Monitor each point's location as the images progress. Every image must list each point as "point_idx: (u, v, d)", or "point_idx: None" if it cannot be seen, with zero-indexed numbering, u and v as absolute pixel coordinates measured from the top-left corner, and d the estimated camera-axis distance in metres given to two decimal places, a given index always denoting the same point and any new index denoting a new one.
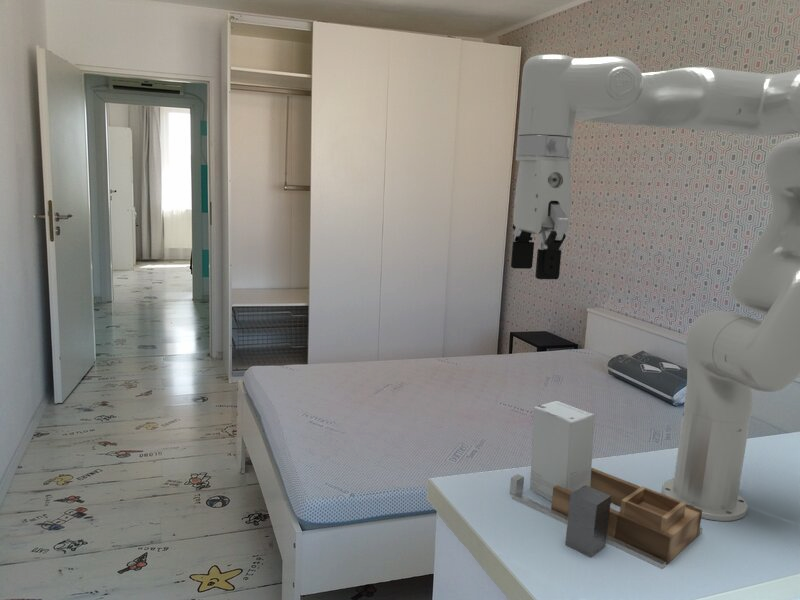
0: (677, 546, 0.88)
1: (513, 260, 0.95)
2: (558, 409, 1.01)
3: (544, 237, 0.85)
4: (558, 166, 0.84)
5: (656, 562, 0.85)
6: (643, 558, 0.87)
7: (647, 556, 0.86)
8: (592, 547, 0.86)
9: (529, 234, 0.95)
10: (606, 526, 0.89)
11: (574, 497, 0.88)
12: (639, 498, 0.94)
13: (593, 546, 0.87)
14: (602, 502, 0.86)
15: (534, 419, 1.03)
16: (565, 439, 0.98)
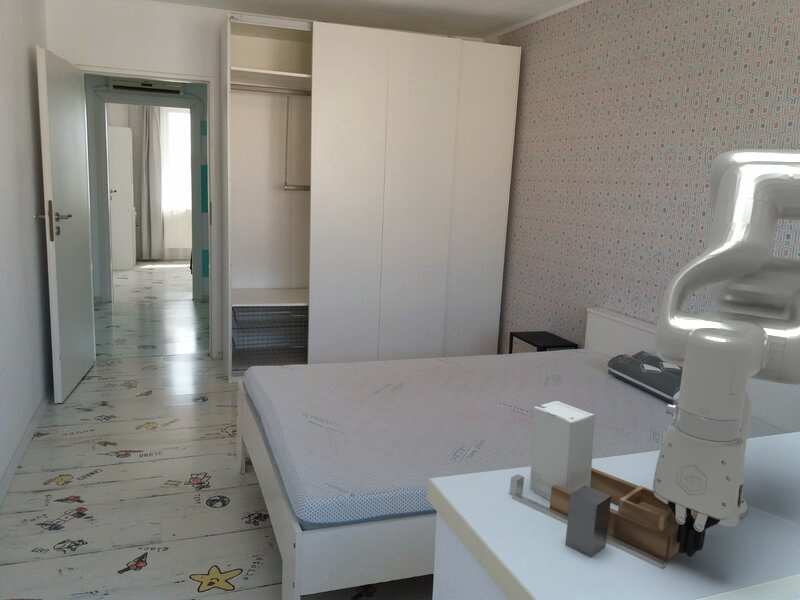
0: (675, 545, 0.88)
1: None
2: (558, 409, 1.01)
3: None
4: None
5: (656, 562, 0.85)
6: (643, 558, 0.87)
7: (647, 556, 0.86)
8: (592, 547, 0.86)
9: None
10: (606, 526, 0.89)
11: (574, 497, 0.88)
12: (637, 497, 0.94)
13: (593, 546, 0.87)
14: (602, 502, 0.86)
15: (534, 419, 1.03)
16: (565, 439, 0.98)
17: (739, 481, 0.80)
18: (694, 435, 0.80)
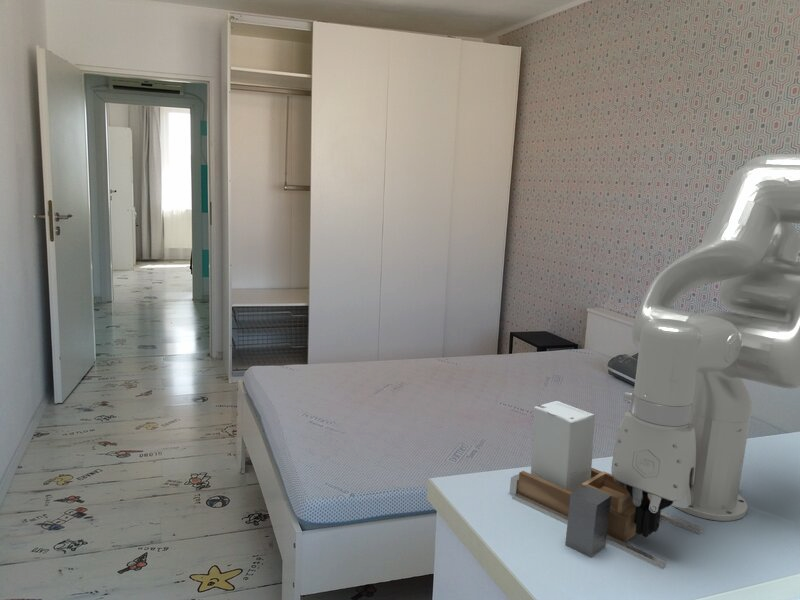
0: (633, 527, 0.92)
1: None
2: (558, 409, 1.01)
3: None
4: None
5: (656, 562, 0.85)
6: (643, 558, 0.87)
7: (647, 556, 0.86)
8: (592, 547, 0.86)
9: None
10: (606, 526, 0.89)
11: (574, 497, 0.88)
12: (600, 482, 0.98)
13: (593, 546, 0.87)
14: (602, 503, 0.86)
15: (534, 419, 1.03)
16: (565, 439, 0.98)
17: (690, 464, 0.84)
18: (647, 420, 0.85)
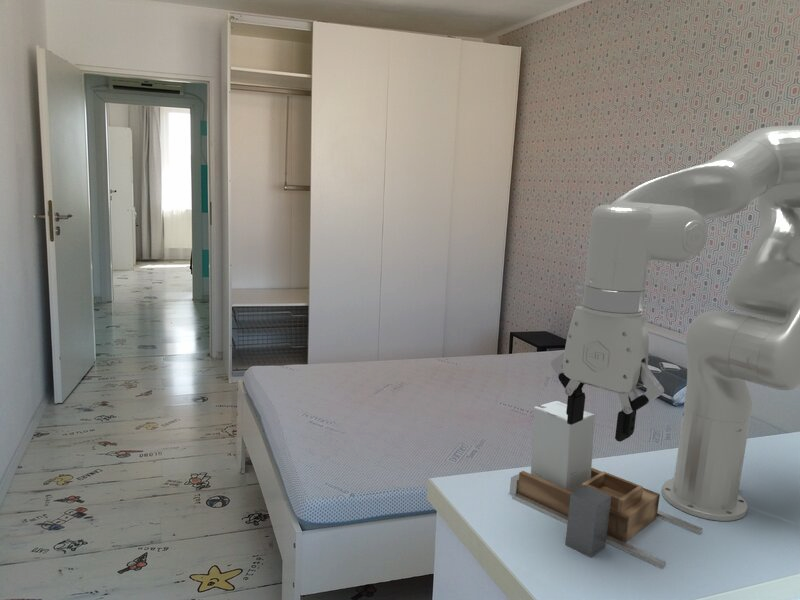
0: (633, 527, 0.92)
1: None
2: (558, 409, 1.01)
3: None
4: None
5: (656, 562, 0.85)
6: (643, 558, 0.87)
7: (647, 556, 0.86)
8: (592, 547, 0.86)
9: None
10: (606, 526, 0.89)
11: (574, 497, 0.88)
12: (600, 482, 0.98)
13: (593, 546, 0.87)
14: (602, 503, 0.86)
15: (534, 419, 1.03)
16: (565, 439, 0.98)
17: (640, 354, 0.80)
18: (596, 308, 0.80)
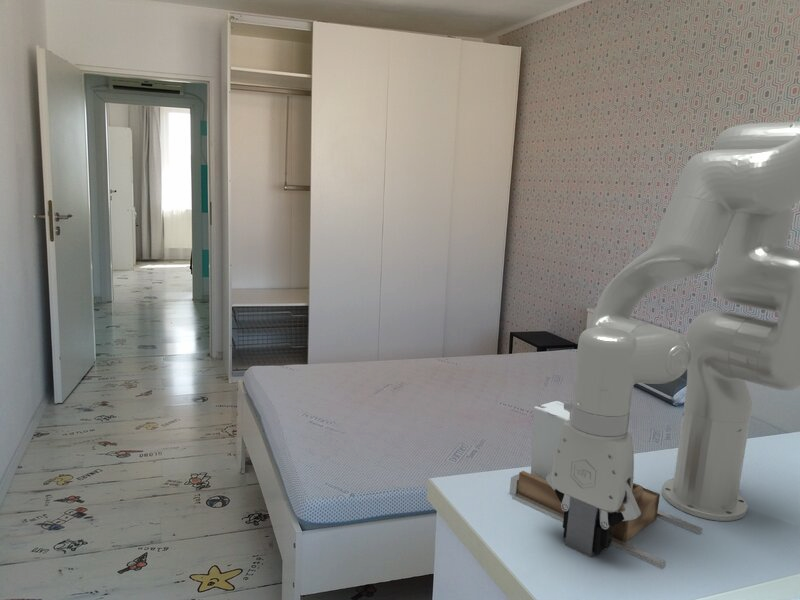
0: (633, 527, 0.92)
1: None
2: (558, 409, 1.01)
3: None
4: None
5: (656, 562, 0.85)
6: (643, 558, 0.87)
7: (647, 556, 0.86)
8: (592, 547, 0.86)
9: None
10: None
11: None
12: None
13: (593, 546, 0.87)
14: None
15: (534, 419, 1.03)
16: None
17: (626, 475, 0.83)
18: (583, 430, 0.84)
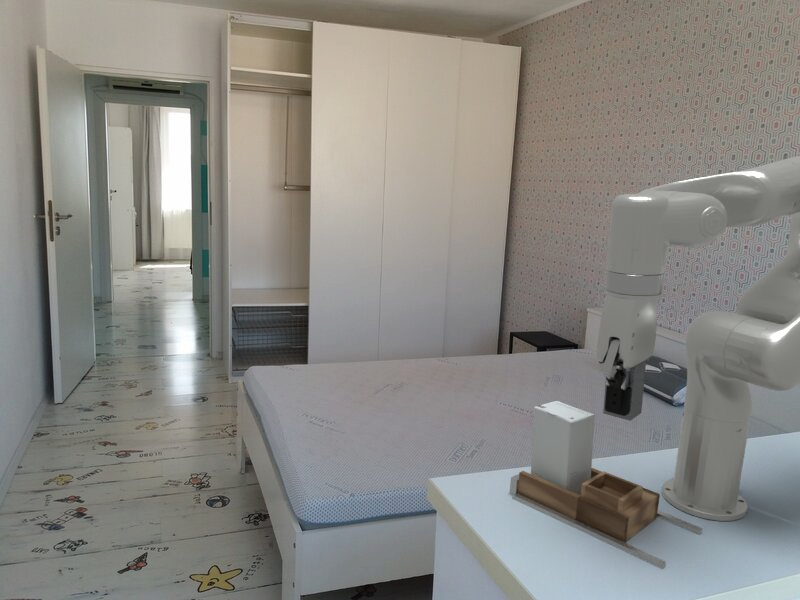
0: (633, 527, 0.92)
1: (627, 407, 0.89)
2: (558, 409, 1.01)
3: None
4: None
5: (656, 562, 0.85)
6: (643, 558, 0.87)
7: (647, 556, 0.86)
8: (604, 402, 0.92)
9: None
10: None
11: None
12: (600, 482, 0.98)
13: None
14: (618, 364, 0.89)
15: (534, 419, 1.03)
16: (565, 439, 0.98)
17: (608, 330, 0.86)
18: None
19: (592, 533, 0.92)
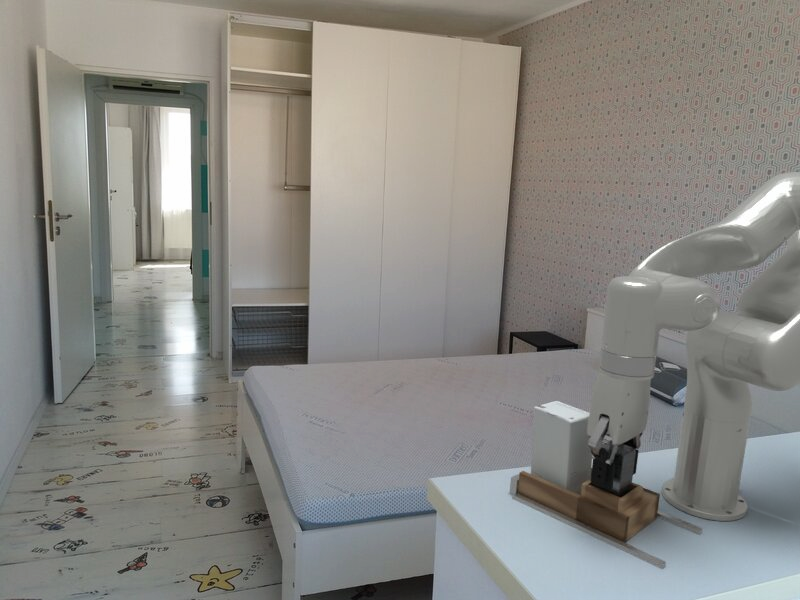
0: (633, 527, 0.92)
1: (612, 481, 0.91)
2: (558, 409, 1.01)
3: None
4: None
5: (656, 562, 0.85)
6: (643, 558, 0.87)
7: (647, 556, 0.86)
8: (593, 485, 0.95)
9: None
10: (617, 483, 0.92)
11: None
12: None
13: (594, 486, 0.95)
14: (607, 451, 0.93)
15: (534, 419, 1.03)
16: (565, 439, 0.98)
17: (599, 407, 0.90)
18: None
19: (592, 533, 0.92)
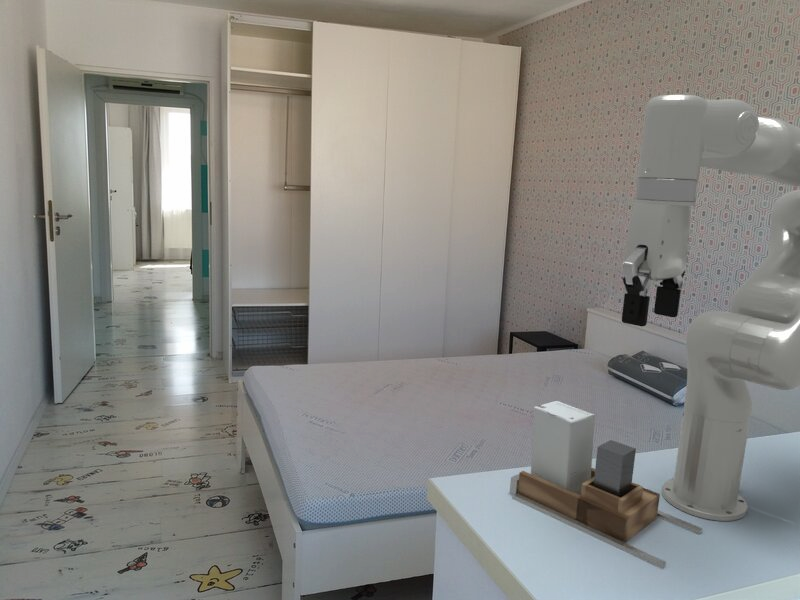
0: (633, 527, 0.92)
1: (646, 317, 0.83)
2: (558, 409, 1.01)
3: None
4: None
5: (656, 562, 0.85)
6: (643, 558, 0.87)
7: (647, 556, 0.86)
8: (593, 485, 0.95)
9: None
10: (617, 483, 0.92)
11: None
12: None
13: (594, 486, 0.95)
14: (607, 451, 0.93)
15: (534, 419, 1.03)
16: (565, 439, 0.98)
17: (636, 238, 0.82)
18: None
19: (592, 533, 0.92)
